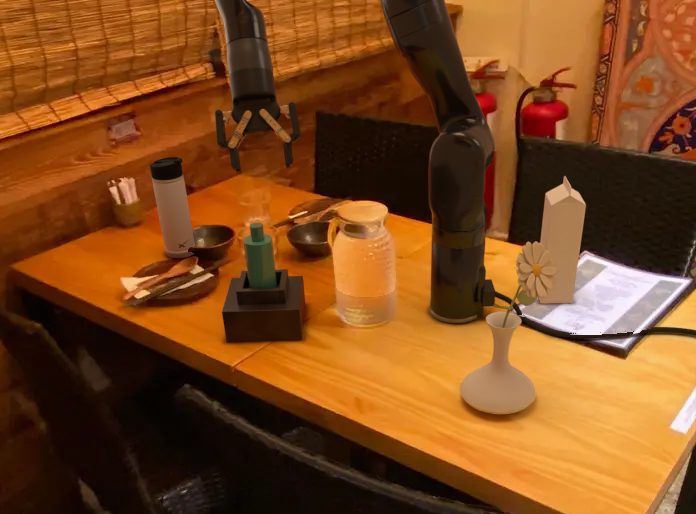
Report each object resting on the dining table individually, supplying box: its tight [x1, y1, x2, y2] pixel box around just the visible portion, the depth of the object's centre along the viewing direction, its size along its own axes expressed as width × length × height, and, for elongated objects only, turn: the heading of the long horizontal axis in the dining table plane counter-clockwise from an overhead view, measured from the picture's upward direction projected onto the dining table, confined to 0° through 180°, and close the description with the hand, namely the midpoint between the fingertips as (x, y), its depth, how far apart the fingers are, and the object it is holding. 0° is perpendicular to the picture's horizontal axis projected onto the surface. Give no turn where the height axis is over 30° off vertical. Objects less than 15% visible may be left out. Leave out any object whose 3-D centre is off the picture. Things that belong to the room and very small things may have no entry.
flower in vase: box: [459, 241, 557, 415], centre depth 112 cm, size 13×11×25 cm
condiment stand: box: [221, 268, 306, 343], centre depth 137 cm, size 13×13×8 cm
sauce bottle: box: [242, 222, 277, 289], centre depth 133 cm, size 5×5×12 cm
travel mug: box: [149, 156, 196, 259], centre depth 160 cm, size 6×7×20 cm
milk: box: [537, 175, 587, 304], centre depth 140 cm, size 6×6×22 cm
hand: (263, 169), depth 135 cm, fingers open, 8 cm apart
